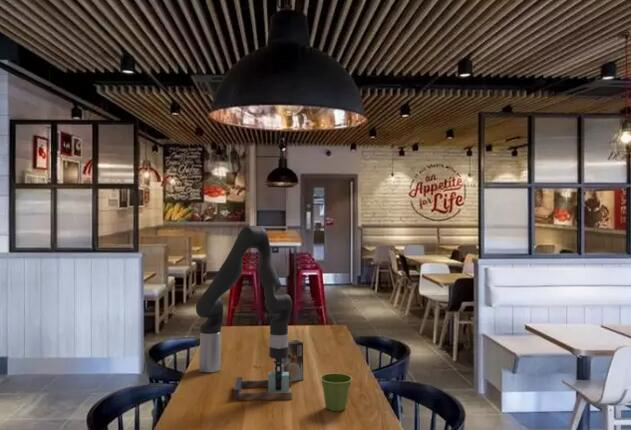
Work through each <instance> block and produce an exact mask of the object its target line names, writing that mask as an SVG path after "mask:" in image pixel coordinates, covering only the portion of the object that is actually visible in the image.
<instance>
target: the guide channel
mask: <svg viewBox="0 0 631 430" xmlns="http://www.w3.org/2000/svg"><path fill="white" fill-rule="evenodd" d="M291 387H292V382H291V380H289V388H291ZM243 388H268V379H263V380H261V379H257V380H256V379H253V380H252V379H251V380H249V379H248V380H244V379H243V376H237V377H236V380H235V384H234V388H233V401H258V400H260V401H263V400H292V399H293V391H289V392H268V391H265V392H264V391H259V392H258V391H253V392H252V391H250V392H249V391H248V392H246V391H243V392H242V390H243Z"/></svg>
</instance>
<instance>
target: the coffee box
mask: <svg viewBox="0 0 631 430" xmlns="http://www.w3.org/2000/svg"><path fill="white" fill-rule="evenodd" d="M282 361H284V367H283V372H289V380H291V383H292V382H296V381H297V382H298V381H303V380H304V342H302V341H301V340H298V339H293V340H288V357H287V358H283V359H282Z"/></svg>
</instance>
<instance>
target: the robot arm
mask: <svg viewBox="0 0 631 430" xmlns="http://www.w3.org/2000/svg"><path fill="white" fill-rule="evenodd" d="M249 249H257V251H258V253H259V255H260V264H259V269H258V274H259V279H260V282H261V284H262V287H263V290H264V301H265V302H264V303H265V308H266V310H267V311H268V312H269V313H270V314H278V315H277V316H276V317H273V318H272V319H271V320H270V321H269V322H270V324H269V339H268V340H269V343H268V346H269V347H268V349H269V351H268V352H269V353H268V356H269V358H271V359H275V360H273V368H274V369H273V372H274V374H275V381H276V390H281V381H282V374H283V367H284V361H282V359H283V358H287V357H288V341H289V336H288V335H289V334H288V333H289V328H288V327H289V326H288V324H289V321H290V316H291V312H292V310H293V300H292V297H291V296H290V295H289V294H287V293H284V294H275V293H276V292H277V291H279V290H280V289H281V288H282V284H281V280H280V277H279V275H278V273H277V270H276V268H275V267H276V266H275V264H274V259H273V254H272V253H273V252H272V249H271V244H270V239H269V235H268V233H267V230H266V229H265V228H264V227H261V226H253V225H246V226H244V227H242V228H241V230H240V231H239V233H238V235H237V237H236V239H235V242H234V243H233V246H232V248H231V250H230V251H229V253H228V255H227V257H226V259H225V260H224V261H223V263H222V264H221V266H220V267H219V270H218V271H217V273H216V275H215V276H214V278H213V280H212V281H211V283H210V284H209V285H208V287H207V289H206V290H205V291H204V292H203V294H202V295H201V296H200V298H199V299H198V300H197V302H196V304H195V312H196V315H198V317H200V318H205V319H206V321H205V322H203V323H202V324H201V325H200V328H199V330H200V331H199V336H200V337H199V350H198V351H199V355H198V358H199V360H198V362H199V363H198V369H199V371H198V372H200V373H201V372H202V373H216V372H219V371H221V370H222V363H221V362H222V354H221V353H222V327H223V321H224V303H223V299H222V298H221V296H223V295H224V294H226V292H228V291H229V290H231V288H233V287H234V286H235V285H236V283H237V282H238V280H239V279H240V277H242V276H241V275H242V274H243V270H244V268H243V267H244V265H243V258H244V257H245V256H244V255H245V253H247V251H248V250H249ZM277 375H280V377H277Z"/></svg>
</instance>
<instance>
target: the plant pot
mask: <svg viewBox="0 0 631 430" xmlns="http://www.w3.org/2000/svg"><path fill="white" fill-rule="evenodd" d="M319 379H320V381H321V385H322V391H323V396H324V404H325V409H326V410H329V411H331V412H342V411H344V410H346V408H347V402H348V397H349V396H348V395H349V390H350V387H351V384H352V383H351V382H353V377H352V376H351V375H348V374H345V373H340V372H339V373H335V372H334V373H330V372H329V373H325V374H322V375H320V377H319Z"/></svg>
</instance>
